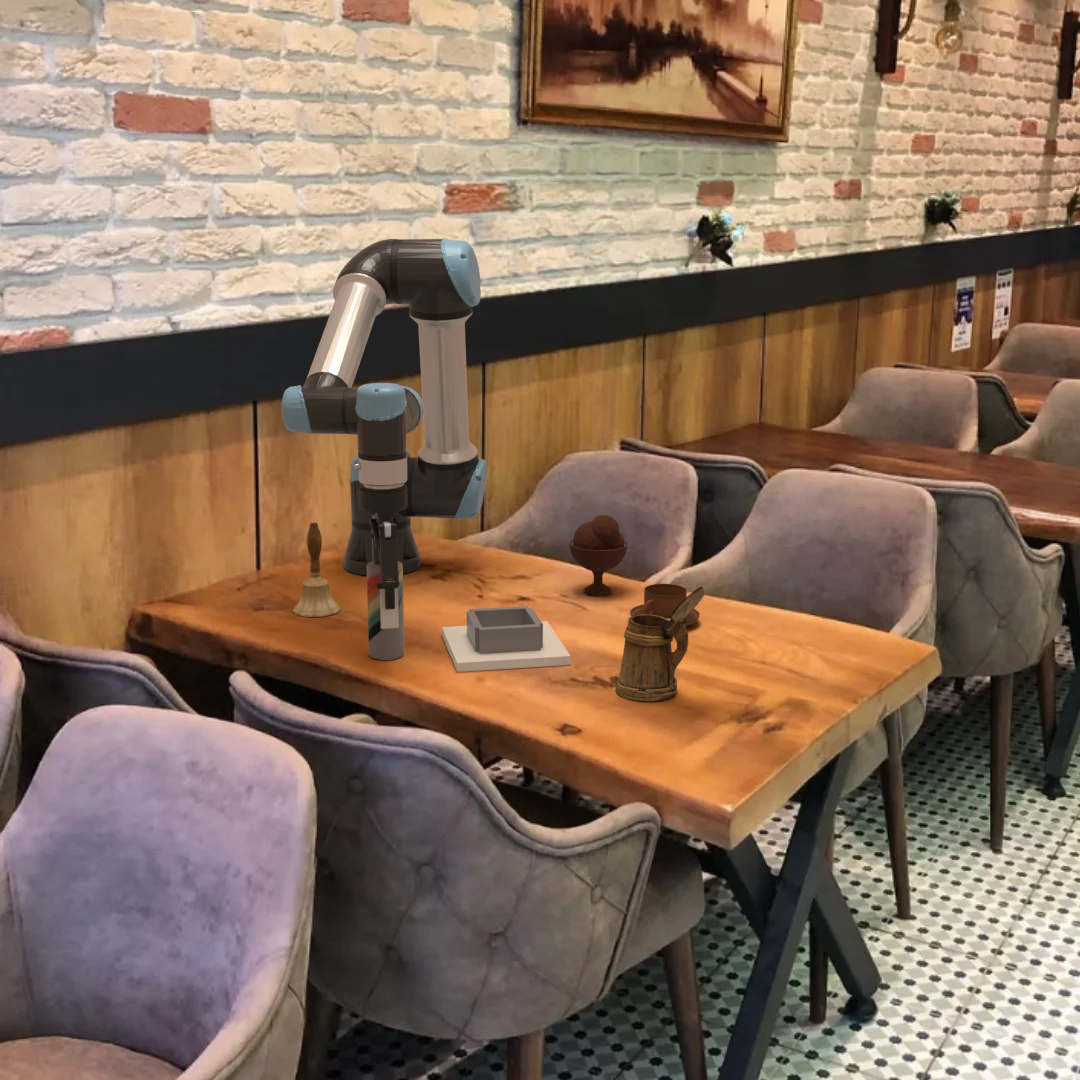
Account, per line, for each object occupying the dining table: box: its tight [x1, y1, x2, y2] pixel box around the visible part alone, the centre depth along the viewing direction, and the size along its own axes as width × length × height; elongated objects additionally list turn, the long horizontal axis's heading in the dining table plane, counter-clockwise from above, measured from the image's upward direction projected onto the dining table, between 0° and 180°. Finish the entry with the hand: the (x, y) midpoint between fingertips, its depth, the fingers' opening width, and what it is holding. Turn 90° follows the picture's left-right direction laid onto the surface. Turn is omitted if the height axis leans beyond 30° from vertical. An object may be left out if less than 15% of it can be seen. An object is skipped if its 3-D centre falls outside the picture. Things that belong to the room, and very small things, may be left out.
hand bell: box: [293, 522, 341, 618], centre depth 232 cm, size 8×8×16 cm
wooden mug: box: [614, 586, 705, 703], centre depth 193 cm, size 9×14×18 cm, turn 52°
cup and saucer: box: [629, 583, 700, 628], centre depth 228 cm, size 12×12×6 cm
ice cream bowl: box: [569, 514, 629, 597], centre depth 245 cm, size 11×11×15 cm
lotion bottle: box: [366, 537, 405, 661], centre depth 209 cm, size 6×6×20 cm
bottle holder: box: [441, 605, 572, 673], centre depth 214 cm, size 18×18×6 cm
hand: (385, 614), depth 210 cm, fingers open, 13 cm apart
